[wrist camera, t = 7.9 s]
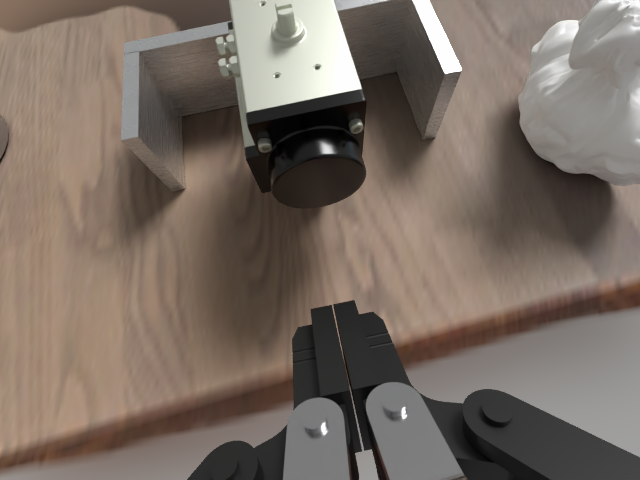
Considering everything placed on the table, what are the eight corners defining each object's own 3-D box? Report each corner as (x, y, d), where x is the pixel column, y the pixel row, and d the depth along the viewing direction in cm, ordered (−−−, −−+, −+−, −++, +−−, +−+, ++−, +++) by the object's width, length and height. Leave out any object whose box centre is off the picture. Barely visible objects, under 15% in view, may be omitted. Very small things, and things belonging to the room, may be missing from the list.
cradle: (171, 191, 25) (121, 140, 19) (169, 108, 28) (124, 42, 22) (435, 137, 25) (462, 69, 19) (405, 60, 28) (420, -18, 22)
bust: (503, 99, 28) (457, 13, 20) (611, 32, 24) (612, -113, 16) (574, 224, 24) (554, 182, 15) (721, 169, 20) (805, 70, 11)
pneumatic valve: (327, 104, 27) (313, -87, 15) (362, 237, 22) (379, 107, 11) (259, 118, 27) (196, -63, 15) (281, 254, 22) (217, 141, 11)
